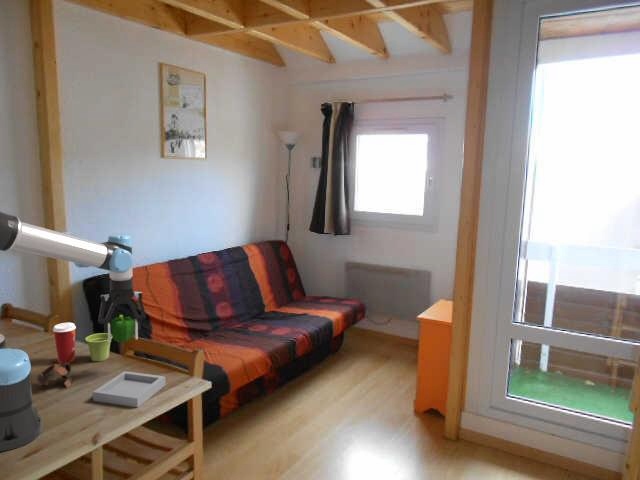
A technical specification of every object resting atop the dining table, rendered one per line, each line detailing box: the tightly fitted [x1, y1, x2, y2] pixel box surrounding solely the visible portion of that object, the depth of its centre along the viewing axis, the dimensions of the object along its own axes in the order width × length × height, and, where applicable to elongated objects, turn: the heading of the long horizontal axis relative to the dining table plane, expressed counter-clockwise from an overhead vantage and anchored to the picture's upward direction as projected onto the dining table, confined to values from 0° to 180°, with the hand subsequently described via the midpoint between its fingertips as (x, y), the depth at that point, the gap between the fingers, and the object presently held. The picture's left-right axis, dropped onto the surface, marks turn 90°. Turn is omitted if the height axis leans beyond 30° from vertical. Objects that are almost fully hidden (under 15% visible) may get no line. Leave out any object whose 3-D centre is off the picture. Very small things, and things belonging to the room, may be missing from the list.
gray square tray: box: [92, 370, 167, 408], centre depth 156 cm, size 16×16×3 cm
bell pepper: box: [109, 314, 135, 343], centre depth 170 cm, size 8×8×10 cm
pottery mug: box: [36, 362, 73, 389], centre depth 161 cm, size 12×10×8 cm
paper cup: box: [52, 322, 77, 364], centre depth 180 cm, size 8×8×14 cm
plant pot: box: [85, 332, 113, 362], centre depth 182 cm, size 9×9×9 cm
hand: (123, 339), depth 171 cm, fingers closed on bell pepper, 8 cm apart
